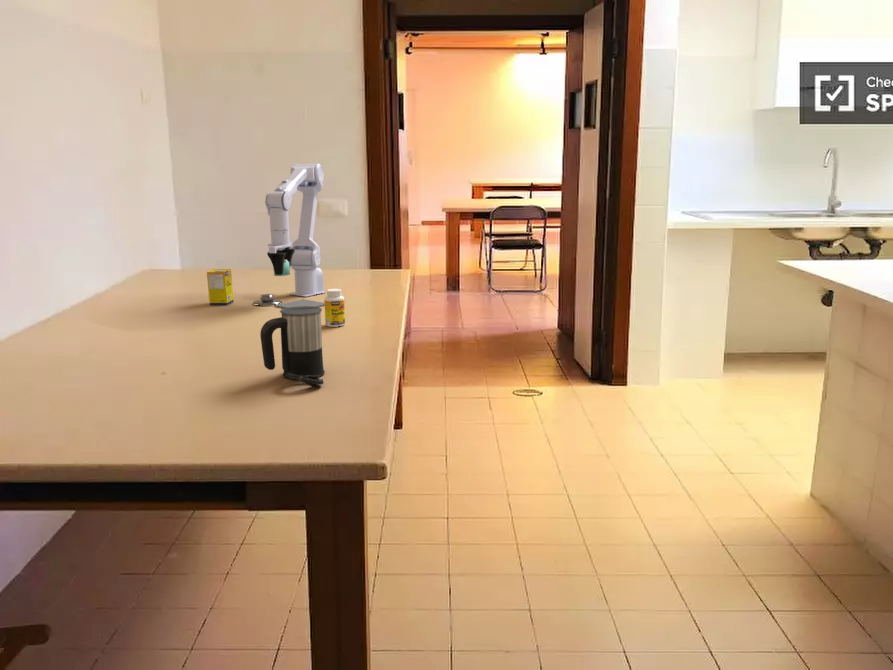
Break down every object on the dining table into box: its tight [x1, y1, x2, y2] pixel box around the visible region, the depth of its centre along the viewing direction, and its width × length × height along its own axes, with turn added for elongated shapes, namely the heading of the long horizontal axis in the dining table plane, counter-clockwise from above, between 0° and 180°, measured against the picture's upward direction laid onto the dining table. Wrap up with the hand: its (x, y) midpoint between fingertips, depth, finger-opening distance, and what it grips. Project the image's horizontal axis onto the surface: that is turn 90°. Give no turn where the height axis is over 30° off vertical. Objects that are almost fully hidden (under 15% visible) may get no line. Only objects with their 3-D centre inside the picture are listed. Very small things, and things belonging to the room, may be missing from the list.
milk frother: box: [259, 306, 326, 388], centre depth 172 cm, size 14×16×15 cm
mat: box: [273, 298, 325, 309], centre depth 253 cm, size 12×12×1 cm
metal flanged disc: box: [252, 293, 283, 305], centre depth 257 cm, size 9×9×3 cm
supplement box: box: [206, 268, 235, 306], centre depth 257 cm, size 6×6×11 cm
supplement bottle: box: [323, 288, 346, 328], centre depth 224 cm, size 6×6×10 cm
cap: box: [272, 260, 291, 277], centre depth 252 cm, size 5×5×5 cm
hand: (282, 273), depth 253 cm, fingers closed on cap, 5 cm apart
